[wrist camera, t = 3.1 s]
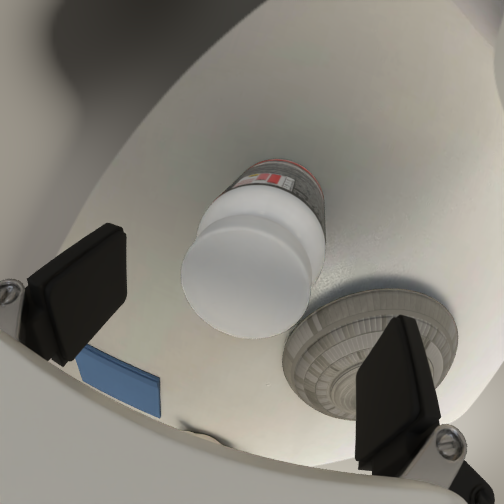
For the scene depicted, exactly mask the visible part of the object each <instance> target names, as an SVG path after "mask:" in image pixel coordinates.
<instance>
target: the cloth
mask: <svg viewBox="0 0 504 504" xmlns="http://www.w3.org/2000/svg"><path fill="white" fill-rule="evenodd" d="M75 359H76V362H77V365H78V368H79V371H80V374H81V377H82V380H83V381H84V382H86V383H88V384H89V385H91V386H93V387H95V388H97V389H99V390H100V391H102V392H104V393H106V394H108V395H110V396H112V397H114V398H116V399H118V400H120V401H122V402H124V403H126V404H128V405H131V406H133V407H135V408H137V409H139V410H141V411H144V412H146V413H148V414H151V415H153V416H155V417H158V418H160V417H161V411H160V378H158V377H156V376H154V375H151V374H149V373H147V372H144V371H142V370H140V369H137V368H135V367H133V366H131V365H129V364H126V363H124V362H122V361H120V360H118V359H116V358H114V357H112V356H110V355H108V354H105V353H103V352H101V351H100V350H98V349H96V348H94V347H92V346H90V345H88V344H87V345H86V346H85V347H84V348H83V349H82V350H81V352H80V353H79V354H78V355H77V356H76V357H75Z"/></svg>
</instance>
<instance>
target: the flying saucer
mask: <svg viewBox="0 0 504 504" xmlns="http://www.w3.org/2000/svg"><path fill="white" fill-rule="evenodd" d="M398 315H404V316H408V317H411V318H414V319H415V320H416V322H417V325H418V328H419V331H420V335H421V338H422V341H423V345H424V348H425V352H426V355H427V359H428V363H429V366H430V370H431V374H432V378H433V382H434V386H435V389H436V388H437V387H438V386H439V384H440V383H441V382H442V381H443V379H444V378H445V376H446V375H447V373H448V371H449V369H450V367H451V365H452V363H453V361H454V358H455V355H456V351H457V345H458V331H457V327H456V323H455V321H454V319H453V317H452V315H451V314H450V312H449V311H448V310H447V309H446V308H445V307H444V306H443V305H442V304H441V303H439V302H438V301H437V300H435V299H433V298H431V297H429V296H427V295H425V294H422V293H419V292H416V291H411V290H405V289H395V288H386V289H373V290H367V291H362V292H358V293H354V294H350V295H347V296H344V297H342V298H339V299H337V300H334V301H332V302H330V303H328V304H326V305H324V306H322V307H321V308H319V309H318V310H316V311H314V312H313V313H312V314H310V315H309V316H308V317H307V318H305V319H304V320H303V321H302V322H301V323H300V324H299V325H298V326H297V327H296V329H295V330H294V331H293V333H292V334H291V335H290V337H289V339H288V341H287V343H286V345H285V348H284V351H283V358H282V365H283V371H284V375H285V377H286V379H287V381H288V383H289V385H290V387H291V388H292V389H293V391H294V392H295V393H296V394H297V395H298V396H299V397H300V398H301V399H302V400H303V401H304V402H305V403H306V404H308V405H309V406H310V407H312V408H314V409H315V410H317V411H319V412H321V413H323V414H325V415H328V416H331V417H334V418H339V419H344V420H353V421H356V374H357V371H358V369H359V368H360V366H361V365H362V363H363V362H364V360H365V359H366V357H367V356H368V354H369V353H370V351H371V350H372V348H373V347H374V345H375V344H376V342H377V341H378V339H379V338H380V336H381V335H382V333H383V331H384V330H385V328H386V327H387V325H388V323H389V322H390V320H391V319H392V318H393V317H395V318H396V317H397V316H398Z"/></svg>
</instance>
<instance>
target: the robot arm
mask: <svg viewBox="0 0 504 504" xmlns="http://www.w3.org/2000/svg"><path fill="white" fill-rule="evenodd" d="M27 281H28V286H27V287H26V288H25V287H24V285H23V283H21V282H20V281H19V280H16V279H5V280H2V281H0V504H494V502H495V499H494V493H493V490H492V488H491V487H490V486H489V484H488V483H487V482H486V481H485V480H484V479H483V478H482V477H481V476H480V475H479V474H478V473H477V472H476V471H475V470H474V469H473V468H472V467H471V466H470V465H469V464H468V463H467V462H466V461H465V460H464V459H465V456H466V453H467V444H466V440H465V438H464V436H463V434H462V433H461V432H460V431H459V429H457V428H456V427H454V426H452V425H449V424H442V425H440V424H439V419H440V418H441V414H440V409H439V404H438V400H437V395H436V391H435V386H434V382H433V378H432V374H431V370H430V366H429V363H428V359H427V355H426V352H425V348H424V345H423V341H422V338H421V335H420V331H419V328H418V325H417V322H416V320H415V319H414V318H411V317H408V316H404V315H398V316H397V317H396V318H395V317H393V318H392V319H391V320H390V322H389V323H388V325H387V327H386V328H385V330H384V331H383V333H382V335H381V336H380V338H379V339H378V341H377V342H376V344H375V345H374V347H373V348H372V350H371V351H370V353H369V354H368V356H367V357H366V359H365V360H364V362H363V363H362V365H361V366H360V368H359V369H358V371H357V374H356V443H355V459H356V461H359V467H358V470H367V471H372V475H363V474H355V473H347V472H339V471H333V470H326V469H320V468H314V467H308V466H302V465H297V464H292V463H288V462H283V461H279V460H274V459H270V458H266V457H262V456H258V455H254V454H251V453H247V452H244V451H240V450H237V449H233V448H230V447H227V446H224V445H220V444H217V443H214V442H211V441H208V440H205V439H203V438H200V437H197V436H194V435H192V434H189V433H186V432H184V431H181V430H178V429H176V428H173V427H171V426H169V425H166V424H164V423H161V422H159V421H157V420H154V419H152V418H150V417H148V416H145V415H143V414H141V413H139V412H137V411H135V410H133V409H131V408H128V407H126V406H124V405H122V404H120V403H118V402H116V401H114V400H113V399H111V398H109V397H107V396H105V395H103V394H101V393H99V392H98V391H96V390H94V389H92V388H90V387H89V386H87V385H85V384H83V383H82V382H80V381H78V380H77V379H75V378H73V377H72V376H70V375H68V374H67V373H65V372H64V371H62V370H61V369H59V368H57V367H56V366H54V365H53V364H51V363H50V362H48V361H49V359H50V358H52V360H53V361H55V362H56V363H58V364H59V365H61V366H62V367H64V366H65V364H66V363H67V362H68V361H73V360H74V359H75V357H76V356H77V355H78V354H79V353H80V352H81V350H82V349H83V348H84V347H85V346H86V345H87V343H88V342H89V341H90V340H91V339H92V338H93V337H94V335H95V334H96V333H97V332H98V331H99V330H100V329H101V327H102V326H103V325H104V324H105V323H106V322H107V321H108V320H109V318H110V317H111V316H112V315H113V314H114V313H115V312H116V311H117V310H118V308H119V307H120V306H121V305H122V304H123V303H124V302H125V300H126V297H127V275H126V233H124V231H123V228H122V227H119V226H116V225H114V224H111V223H106V224H104V225H103V226H101V227H100V228H98V229H96V230H95V231H93V232H92V233H90V234H89V235H87V236H86V237H84V238H83V239H81V240H80V241H78V242H77V243H75V244H74V245H73V246H71V247H70V248H68V249H67V250H65V251H64V252H63V253H61V254H60V255H58V256H57V257H55V258H54V259H53V260H51V261H50V262H49V263H47V264H46V265H45V266H43V267H42V268H40V269H39V270H38V271H36V272H35V273H34V274H32V275H31V276H30V277H29V278H27Z"/></svg>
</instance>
